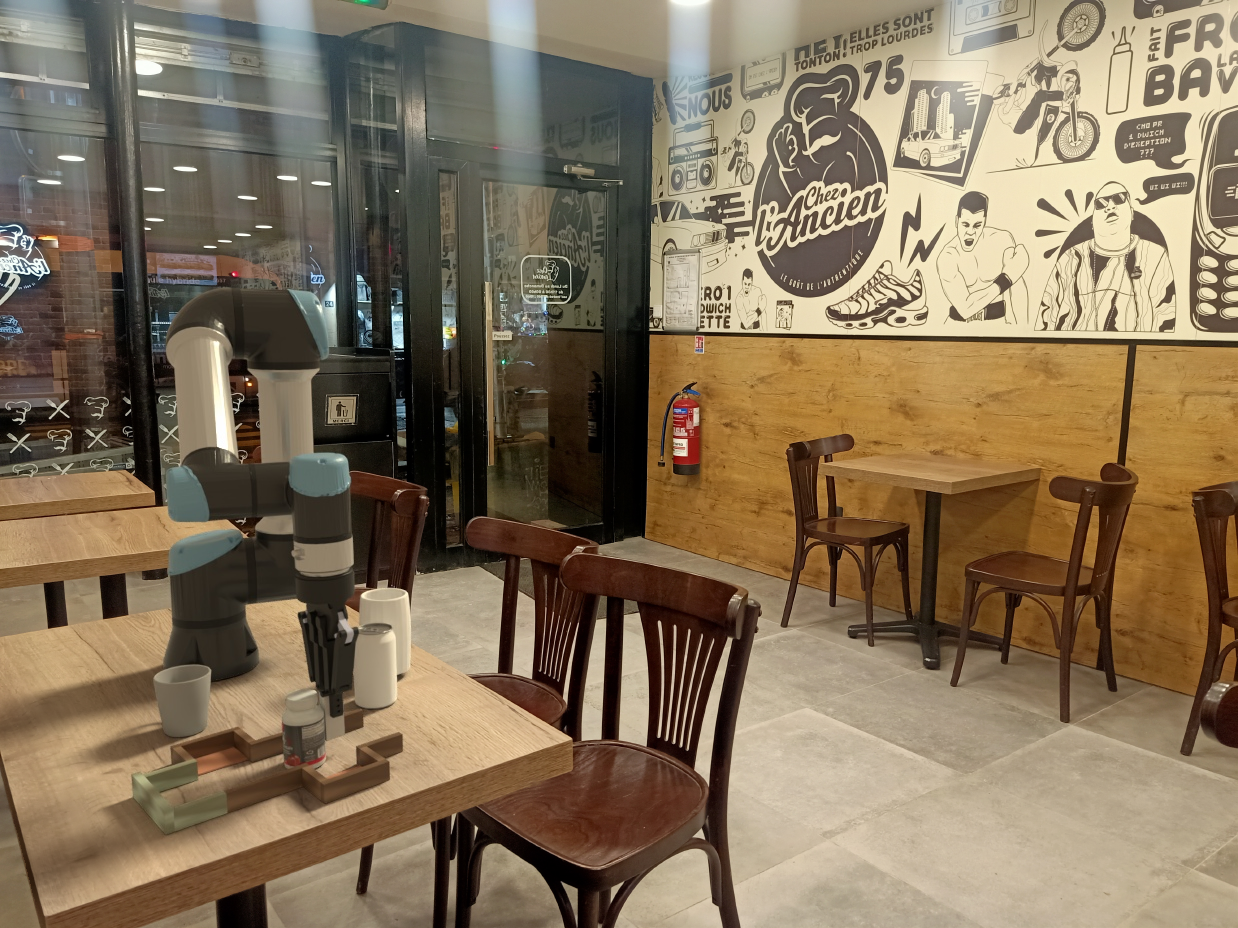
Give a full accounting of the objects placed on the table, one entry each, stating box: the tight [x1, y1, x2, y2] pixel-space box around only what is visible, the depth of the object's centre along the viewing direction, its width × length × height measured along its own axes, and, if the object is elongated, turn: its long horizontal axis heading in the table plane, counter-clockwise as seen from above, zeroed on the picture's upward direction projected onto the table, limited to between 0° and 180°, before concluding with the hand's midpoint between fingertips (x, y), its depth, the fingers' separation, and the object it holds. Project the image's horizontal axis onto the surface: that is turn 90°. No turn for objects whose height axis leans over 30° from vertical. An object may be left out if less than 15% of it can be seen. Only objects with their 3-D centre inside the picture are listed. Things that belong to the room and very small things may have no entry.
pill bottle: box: [281, 688, 327, 770], centre depth 121 cm, size 5×5×10 cm
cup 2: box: [358, 587, 412, 676], centre depth 153 cm, size 8×8×14 cm
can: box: [353, 623, 398, 710], centre depth 142 cm, size 6×6×12 cm
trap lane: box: [130, 708, 404, 835], centre depth 119 cm, size 24×31×3 cm
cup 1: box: [152, 665, 212, 738], centre depth 133 cm, size 8×10×8 cm
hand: (333, 735), depth 124 cm, fingers closed
